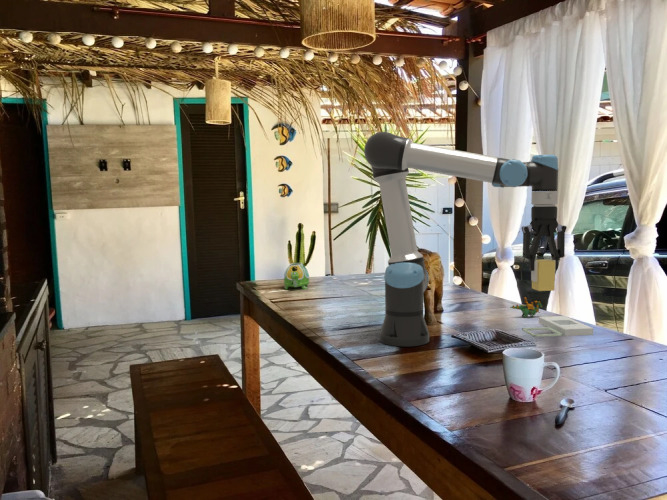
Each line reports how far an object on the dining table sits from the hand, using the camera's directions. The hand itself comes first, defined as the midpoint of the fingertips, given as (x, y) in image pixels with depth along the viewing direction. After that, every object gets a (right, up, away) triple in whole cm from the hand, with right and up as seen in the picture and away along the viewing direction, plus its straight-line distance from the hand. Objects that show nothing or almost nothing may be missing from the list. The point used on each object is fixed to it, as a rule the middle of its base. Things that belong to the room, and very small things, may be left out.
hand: (543, 280), depth 180 cm
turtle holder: (-83, -9, +99) cm, 129 cm away
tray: (0, -17, +2) cm, 17 cm away
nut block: (0, -3, 0) cm, 3 cm away
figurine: (+3, -15, +24) cm, 29 cm away
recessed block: (+9, -17, +7) cm, 20 cm away
